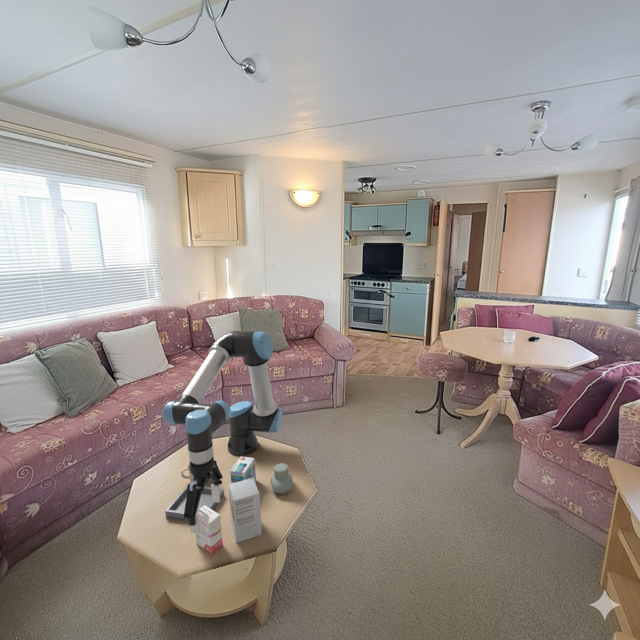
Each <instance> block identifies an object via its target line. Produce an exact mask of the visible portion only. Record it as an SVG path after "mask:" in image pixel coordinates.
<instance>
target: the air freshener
mask: <svg viewBox="0 0 640 640" xmlns="http://www.w3.org/2000/svg"><path fill="white" fill-rule="evenodd" d="M273 470H274V471H273V474H272V475H271V476H270V485H271V488H272V489H271V490H272V492H273V493H274V494H281V495H282V494H286V493H288V492H290V491H291V490H292V489H294V480H293V476H292V473H290V471H289V465H288V464H286V463H282V462H281V463H280V462H279V463H278V464H276V465H275V466H274V468H273Z"/></svg>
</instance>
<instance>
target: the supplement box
mask: <svg viewBox="0 0 640 640" xmlns="http://www.w3.org/2000/svg"><path fill="white" fill-rule="evenodd" d="M228 492H229V505H230V521H231V528H232V532H233V537H234V541H235V543H236V544H239V543H241V542H244V541H247V540H250V539H252V538H255V537H259V536H261V535H262V534H263V533H262V532H263V531H262V516H261V515H262V514H261V499H260V498H261V494H260V491H259V488H258V487H257V484H256V481H254V478H250V479H247V480H243V481H239V482H236V483H232V484H231V483H229V484H228Z"/></svg>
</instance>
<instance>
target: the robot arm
mask: <svg viewBox="0 0 640 640" xmlns="http://www.w3.org/2000/svg"><path fill="white" fill-rule="evenodd" d="M273 348H274V344H273V340H272V337H271V336H270V334H269V333H268V332H264V331H259V330H258V331H257V330H256V331H246V330H243V331H242V330H233V331H229V332H226V333H225V334H223V335H222V336H220V337H219V338H218V339H217V340H215V341H214V342H213V344H211V346H210V347H209V349H208V352H207V353H208V355H207V356H206V358H205V359H204V360H203V362H202V364H201V365H200V367H199V368H198V370H197V371H196V372H195V374H194V375H193V377H192V378H191V380H190V381H189V383H188V384H187V386H186V387H185V389H184V390H183V391H182V393H181V395H180V396H179V398H178V399H177V400H174V401H173V400H172V401H169V402H167V403H166V404H165V406H164V407H163V410H162V418H163V420H164V421H165V422H166V423H168V424H173V425H183V426H184V427H185V428H184V429H185V433H186V440H187V451H188V462H189V466H190V472H191V474H192V475H193V476H194V480H193V483H190V482H189V483H188V484H187V485H188V486H187V485H186V486H187V488H188V492H187V498H186V504H185V510H184V518H186V519H189V522H188V524H189V527H190V528H189V529H190V530H189V531H190V533H194V534H195V533H199V532H200V529H199V518H198V513H197V509H198V505H199V501H200V497H201V493H202V492H203V491H204V487H206V485H207V484H208V483H212V484H211V485H210V487H211V492H212V502H217V503H219V504H220V503H221V501H220V490H219V489H220V485H222V484H223V480H222V479H223V473H222V472H221V470H220V468H219V466H218V463H217V460H215V457H214V454H215V453H214V446H213V445H214V444H213V434H214V433H215V432H216V431H217V430H218V429H219V428H220V427H221V426H222V425H223V424H224V423H225V422H226V421H227V419H228V421H229V423H228V424H229V432H230V434H229V438H228V441H227V451H228V453H229V454H231V455H234V456H246V455H249V454H251V453H253V452H255V451H256V450H257V449H258V448H259V441H258V438H257V435H256V434H255V432H262V433H269V434H270V433H273V434H274V433H277V432H278V431H279V430H280V427H281V425H282V421H283V409H282V408H280V407H278V404H277V402H276V401H275V400H274V399H273V391H272V385H271V380H270V373H269V368H268V367H269V365H268V363H269V361H270V359H271V357H272V356H273V352H274V350H273ZM232 358H240V359H241V358H242V360H243V364H244V366H246V367H248V375H249V377H250V378H249V380H250V384H251V385H250V386H251V389H252V394H253V400H254V405H253V402H251V401H250V400H249V401H248V400H243V401H238V402H236V403H234V404H232V405H231V406H229V404H228V403H227V402H226V401H224V400H216V401H214V402H212V403H211V404H208V403H207V404H206V403H202V401H203V400H204V398H205V397H206V395H207V393H208V391H209V390H210V388H211V387H212V385H213V383H214V381H215V380H216V378H217V376H218V375H219V374H220V372H221V370H222V368H223V367H224V365H225V364H227V363H228V362H229V361H230V360H231V359H232ZM198 487H201V489H197V488H198Z"/></svg>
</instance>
